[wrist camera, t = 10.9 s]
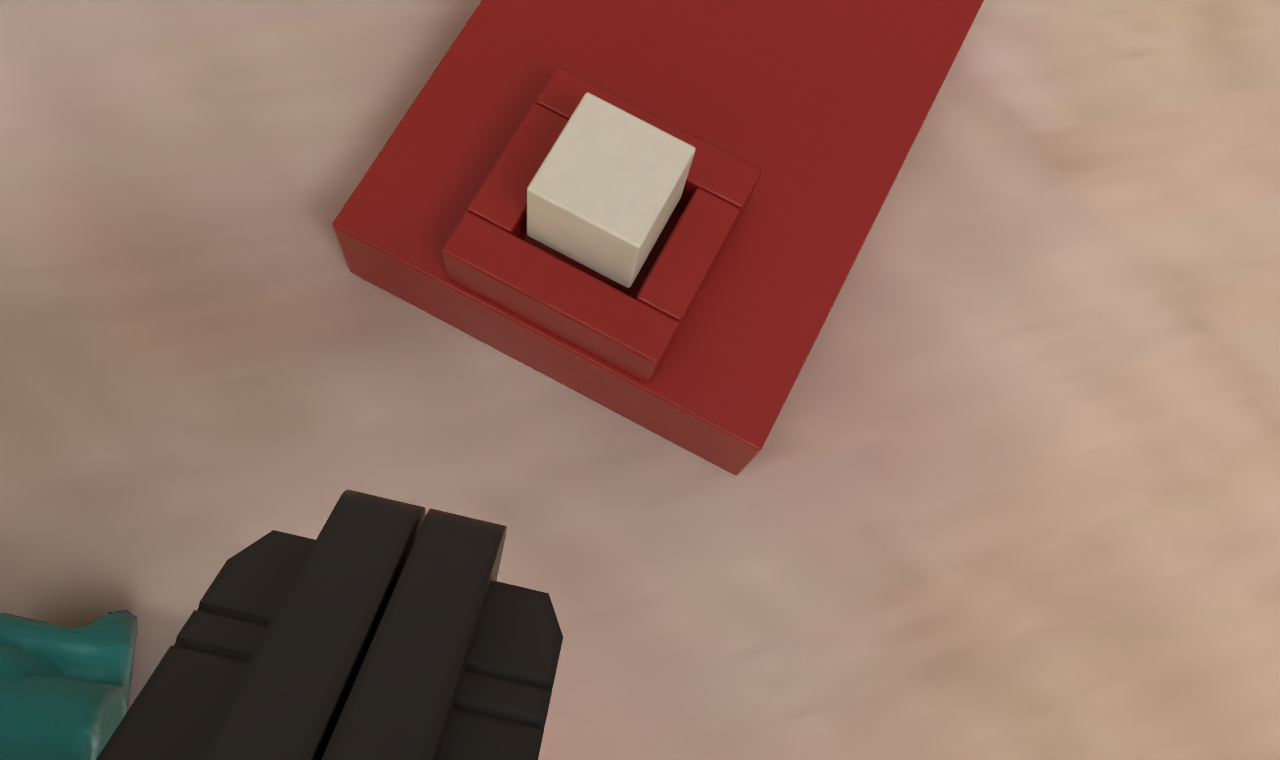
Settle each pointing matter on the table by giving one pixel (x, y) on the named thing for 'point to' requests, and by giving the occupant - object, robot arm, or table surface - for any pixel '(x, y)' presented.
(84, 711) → the toy
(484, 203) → the red push button box
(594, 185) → the white cube
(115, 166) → the table surface
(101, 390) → the table surface
